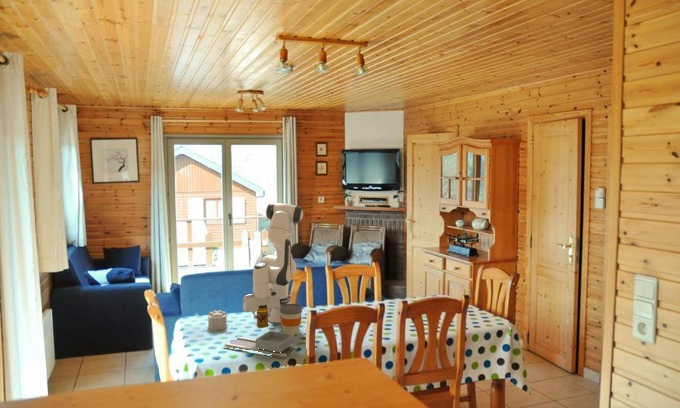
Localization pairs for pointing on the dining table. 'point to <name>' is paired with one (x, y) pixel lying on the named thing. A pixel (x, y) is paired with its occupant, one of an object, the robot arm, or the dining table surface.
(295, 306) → the reusable coffee cup
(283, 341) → the tray
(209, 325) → the lumpy-topped squat cylinder
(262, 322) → the condiment
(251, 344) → the rail track
